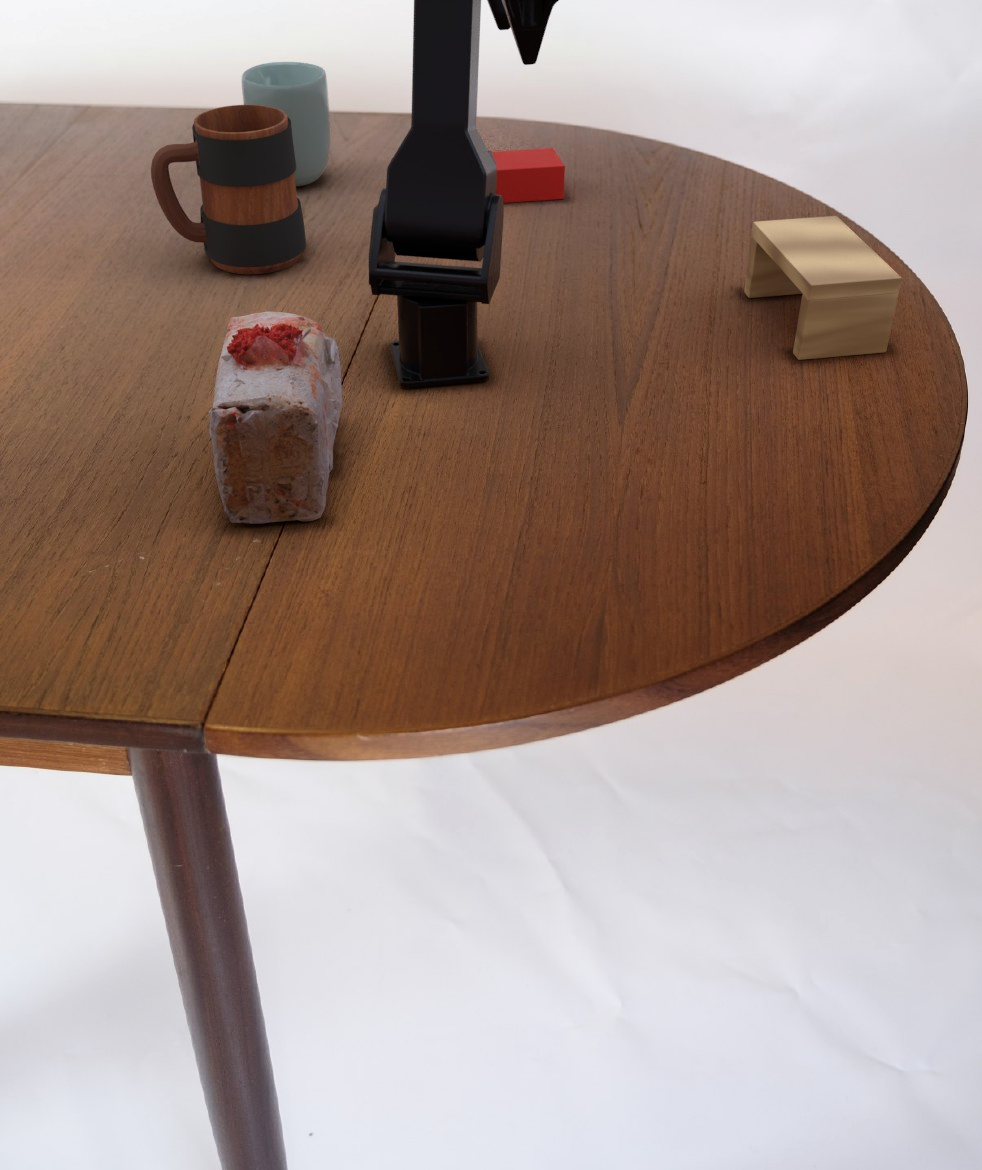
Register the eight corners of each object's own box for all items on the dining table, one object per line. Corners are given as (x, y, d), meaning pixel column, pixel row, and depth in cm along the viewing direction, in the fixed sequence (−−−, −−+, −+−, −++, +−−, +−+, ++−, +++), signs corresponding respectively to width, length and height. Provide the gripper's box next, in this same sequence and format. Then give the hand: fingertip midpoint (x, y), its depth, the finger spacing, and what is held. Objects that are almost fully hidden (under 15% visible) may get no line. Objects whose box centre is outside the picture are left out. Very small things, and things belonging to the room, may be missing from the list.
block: (551, 180, 125) (553, 147, 123) (563, 199, 121) (565, 165, 119) (476, 185, 123) (476, 152, 121) (485, 204, 119) (485, 170, 118)
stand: (886, 352, 96) (902, 277, 93) (798, 360, 95) (811, 285, 92) (824, 285, 106) (836, 215, 102) (743, 292, 105) (753, 221, 101)
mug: (159, 249, 111) (136, 112, 104) (295, 231, 114) (282, 97, 107) (173, 289, 105) (150, 146, 97) (317, 269, 108) (305, 129, 101)
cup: (239, 189, 122) (226, 81, 116) (273, 162, 128) (263, 58, 122) (314, 198, 120) (305, 89, 114) (345, 171, 126) (338, 65, 120)
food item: (229, 417, 88) (211, 283, 82) (345, 412, 89) (335, 279, 83) (216, 530, 78) (193, 386, 72) (348, 523, 78) (336, 380, 72)
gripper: (649, -131, 98) (635, 75, 108) (581, -181, 112) (574, 6, 122) (508, -122, 96) (507, 87, 106) (456, -174, 110) (460, 16, 120)
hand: (516, 46), depth 114 cm, fingers open, 9 cm apart
